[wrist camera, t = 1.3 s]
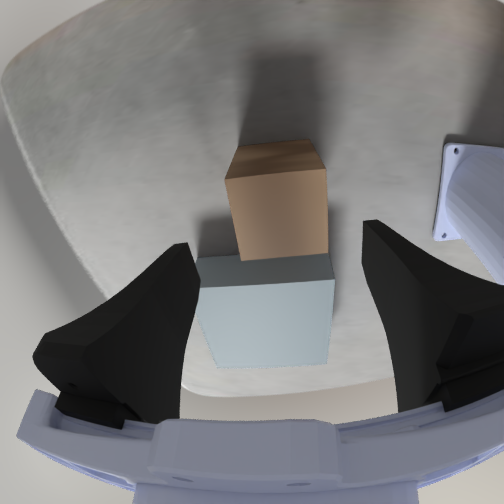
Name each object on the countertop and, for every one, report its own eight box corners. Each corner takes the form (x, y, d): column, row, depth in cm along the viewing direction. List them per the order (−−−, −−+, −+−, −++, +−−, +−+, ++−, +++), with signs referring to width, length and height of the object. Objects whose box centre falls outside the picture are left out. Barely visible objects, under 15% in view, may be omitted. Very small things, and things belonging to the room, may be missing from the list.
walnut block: (308, 138, 17) (325, 168, 12) (313, 202, 20) (328, 252, 15) (237, 146, 18) (224, 179, 13) (248, 208, 20) (241, 260, 15)
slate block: (326, 245, 22) (334, 279, 19) (322, 330, 27) (326, 363, 24) (198, 255, 23) (186, 288, 20) (222, 335, 29) (216, 368, 25)
